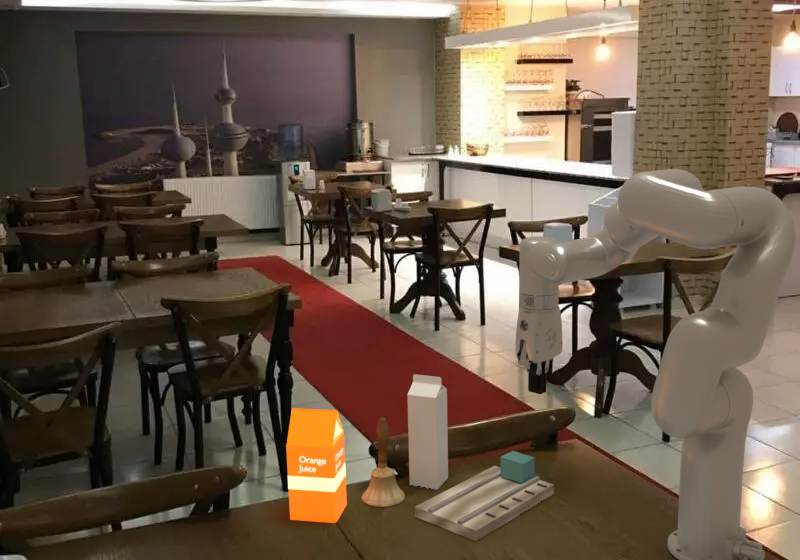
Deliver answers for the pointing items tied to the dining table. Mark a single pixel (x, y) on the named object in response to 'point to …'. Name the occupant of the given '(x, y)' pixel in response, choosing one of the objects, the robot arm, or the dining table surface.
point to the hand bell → (382, 475)
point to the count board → (483, 503)
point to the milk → (427, 432)
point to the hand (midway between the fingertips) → (537, 391)
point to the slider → (517, 467)
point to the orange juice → (316, 465)
